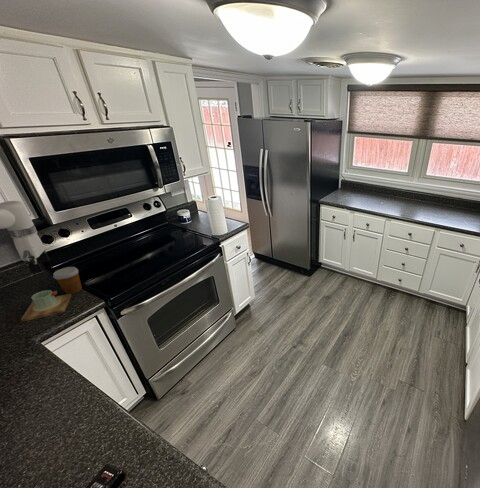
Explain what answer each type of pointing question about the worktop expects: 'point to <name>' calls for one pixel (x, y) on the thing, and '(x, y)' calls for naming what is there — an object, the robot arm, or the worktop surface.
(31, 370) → the worktop surface
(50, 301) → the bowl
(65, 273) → the disposable coffee cup
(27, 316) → the base
